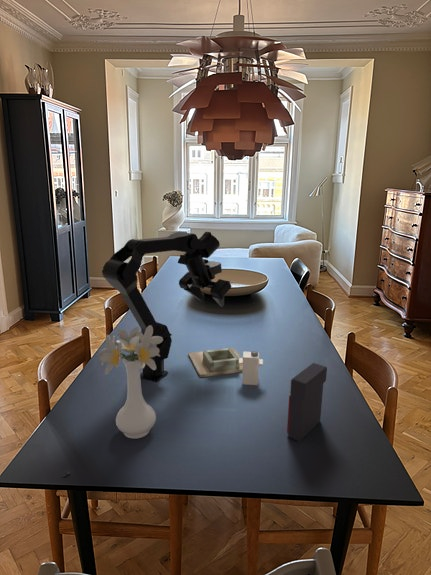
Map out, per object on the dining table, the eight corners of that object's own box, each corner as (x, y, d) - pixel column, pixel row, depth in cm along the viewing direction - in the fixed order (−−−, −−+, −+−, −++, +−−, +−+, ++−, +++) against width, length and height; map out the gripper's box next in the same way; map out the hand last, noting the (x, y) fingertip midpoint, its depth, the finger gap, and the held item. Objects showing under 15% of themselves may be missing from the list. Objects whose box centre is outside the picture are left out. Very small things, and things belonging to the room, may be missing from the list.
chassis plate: (199, 377, 124) (199, 365, 123) (188, 355, 139) (188, 344, 138) (250, 370, 128) (250, 358, 127) (233, 350, 143) (234, 339, 142)
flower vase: (169, 409, 107) (167, 318, 101) (154, 456, 90) (150, 349, 83) (120, 407, 108) (114, 316, 101) (95, 453, 90) (86, 347, 84)
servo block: (238, 383, 120) (238, 354, 118) (239, 377, 124) (239, 348, 122) (261, 385, 120) (263, 355, 117) (262, 378, 123) (263, 350, 121)
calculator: (306, 415, 105) (310, 361, 101) (322, 421, 102) (327, 366, 98) (284, 436, 97) (288, 377, 93) (301, 443, 94) (305, 384, 90)
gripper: (233, 255, 129) (247, 293, 138) (191, 248, 141) (206, 283, 150) (212, 278, 123) (228, 315, 132) (170, 268, 135) (187, 303, 144)
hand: (212, 303), depth 140 cm, fingers open, 9 cm apart
